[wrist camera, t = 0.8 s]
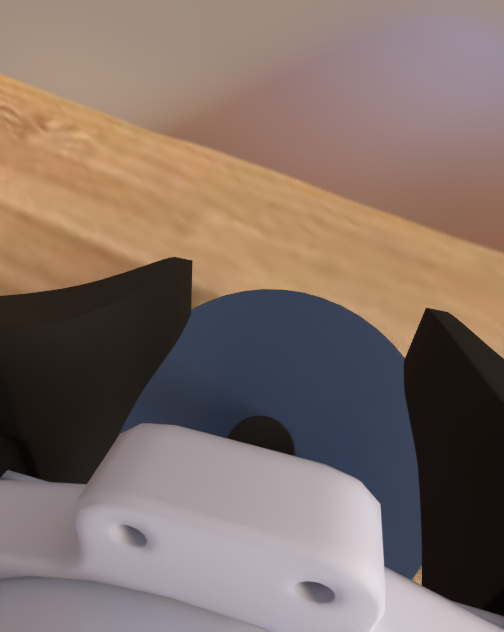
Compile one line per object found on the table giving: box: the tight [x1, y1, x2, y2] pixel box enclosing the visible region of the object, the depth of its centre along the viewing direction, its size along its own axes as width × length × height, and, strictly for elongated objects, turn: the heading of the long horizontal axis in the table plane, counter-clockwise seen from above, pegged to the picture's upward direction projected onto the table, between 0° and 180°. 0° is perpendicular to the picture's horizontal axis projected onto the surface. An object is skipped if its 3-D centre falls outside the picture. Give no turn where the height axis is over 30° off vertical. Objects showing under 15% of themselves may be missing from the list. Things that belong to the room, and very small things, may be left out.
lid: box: [116, 289, 422, 580], centre depth 16 cm, size 16×16×5 cm
